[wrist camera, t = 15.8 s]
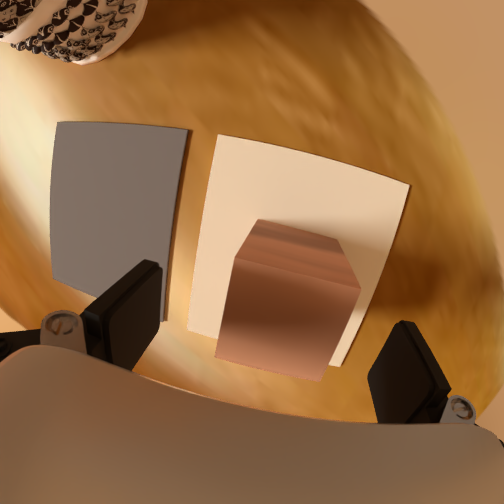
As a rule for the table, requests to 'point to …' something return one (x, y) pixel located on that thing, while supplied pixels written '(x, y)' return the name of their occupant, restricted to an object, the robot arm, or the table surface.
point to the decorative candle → (70, 26)
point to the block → (287, 301)
